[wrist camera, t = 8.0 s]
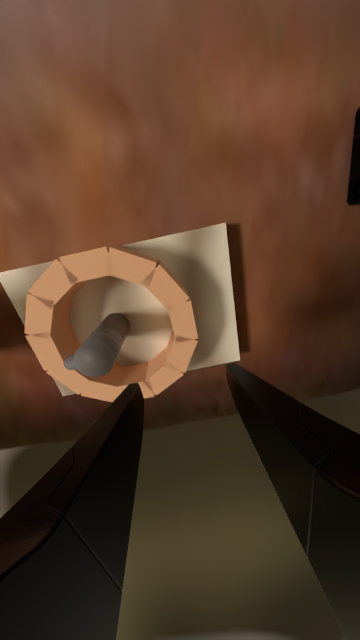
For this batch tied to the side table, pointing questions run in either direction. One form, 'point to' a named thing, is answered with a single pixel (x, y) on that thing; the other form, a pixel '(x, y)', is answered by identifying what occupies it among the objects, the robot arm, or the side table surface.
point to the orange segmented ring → (60, 340)
